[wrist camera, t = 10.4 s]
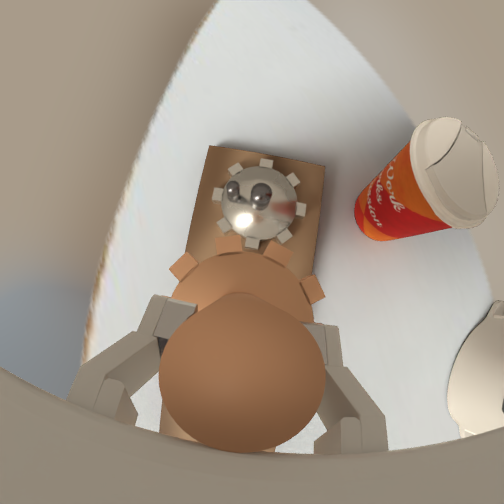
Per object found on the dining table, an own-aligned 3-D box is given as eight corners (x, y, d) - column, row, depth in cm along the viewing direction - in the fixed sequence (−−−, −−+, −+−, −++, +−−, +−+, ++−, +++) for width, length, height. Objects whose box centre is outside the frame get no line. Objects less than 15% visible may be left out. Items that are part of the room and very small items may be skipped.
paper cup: (361, 164, 28) (432, 90, 15) (418, 203, 28) (507, 158, 14) (330, 227, 28) (405, 176, 14) (393, 267, 27) (493, 250, 13)
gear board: (321, 172, 28) (325, 166, 27) (271, 448, 25) (273, 456, 23) (210, 152, 28) (209, 144, 26) (162, 430, 25) (158, 437, 23)
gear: (308, 172, 26) (318, 156, 23) (296, 257, 26) (305, 252, 22) (223, 157, 26) (220, 138, 23) (205, 241, 25) (199, 233, 22)
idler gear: (331, 256, 16) (452, 212, 6) (303, 406, 15) (372, 523, 5) (175, 228, 16) (88, 143, 6) (150, 380, 14) (56, 476, 5)
